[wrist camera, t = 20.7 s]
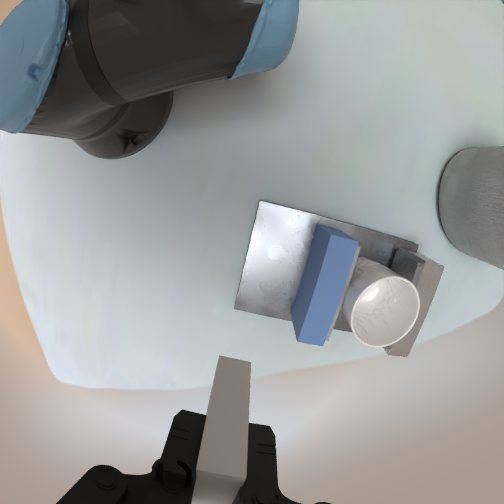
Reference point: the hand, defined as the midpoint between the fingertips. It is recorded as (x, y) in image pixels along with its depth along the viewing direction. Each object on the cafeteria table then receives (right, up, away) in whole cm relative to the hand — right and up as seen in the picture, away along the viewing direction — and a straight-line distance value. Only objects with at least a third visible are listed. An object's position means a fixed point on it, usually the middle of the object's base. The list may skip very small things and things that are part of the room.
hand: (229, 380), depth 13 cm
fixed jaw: (+20, +1, +23) cm, 31 cm away
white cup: (+15, +2, +23) cm, 28 cm away
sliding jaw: (+9, +3, +23) cm, 25 cm away
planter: (+34, +14, +21) cm, 43 cm away
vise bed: (+11, +3, +24) cm, 27 cm away
